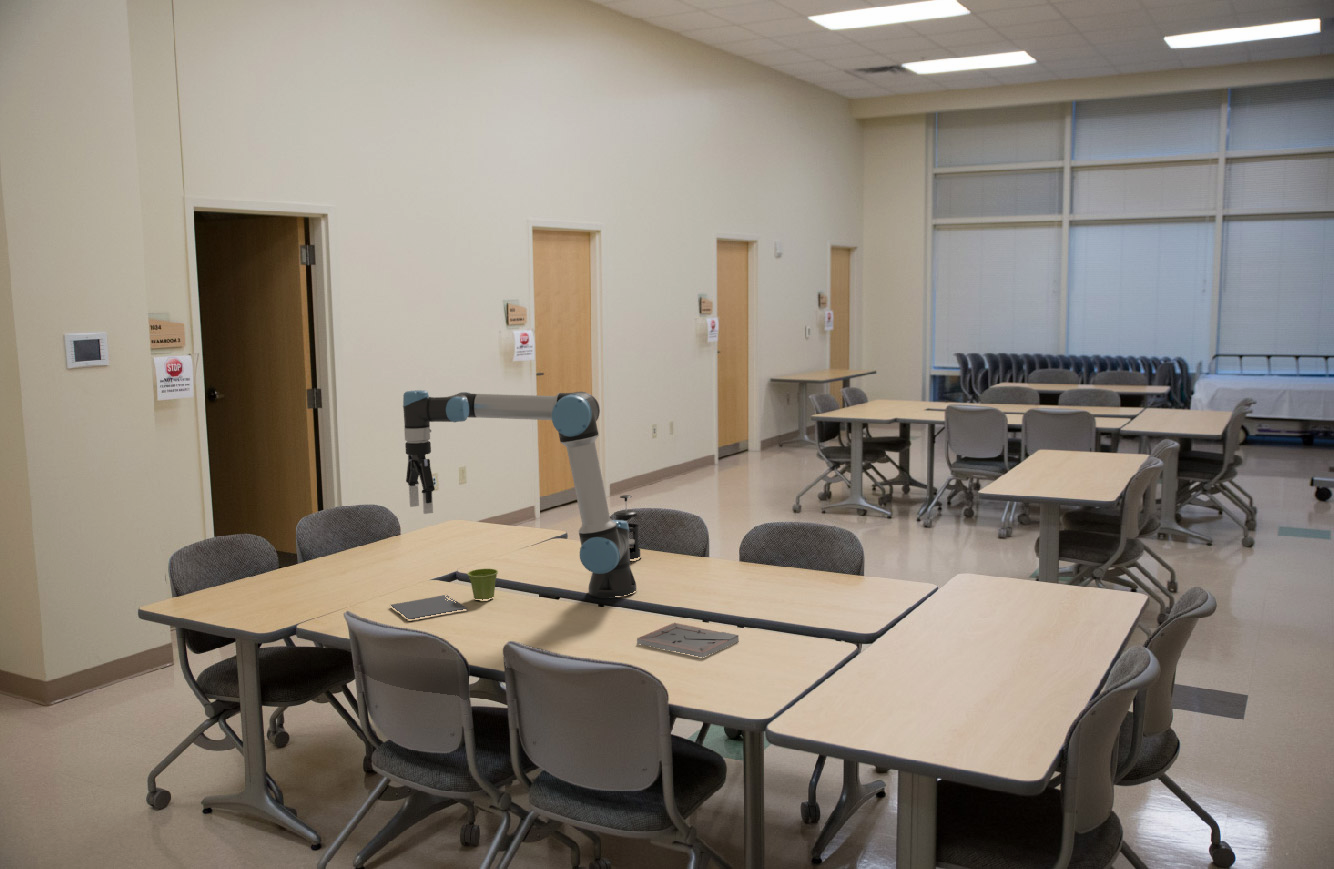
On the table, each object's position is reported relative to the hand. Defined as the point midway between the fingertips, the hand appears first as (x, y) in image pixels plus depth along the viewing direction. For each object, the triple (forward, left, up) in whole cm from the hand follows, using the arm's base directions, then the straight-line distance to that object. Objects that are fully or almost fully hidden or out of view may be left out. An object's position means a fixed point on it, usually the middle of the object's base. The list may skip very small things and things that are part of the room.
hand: (421, 509), depth 322 cm
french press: (+10, -77, -30) cm, 83 cm away
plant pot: (-7, -16, -30) cm, 35 cm away
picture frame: (-81, -44, -30) cm, 97 cm away
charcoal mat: (-7, +2, -30) cm, 30 cm away
